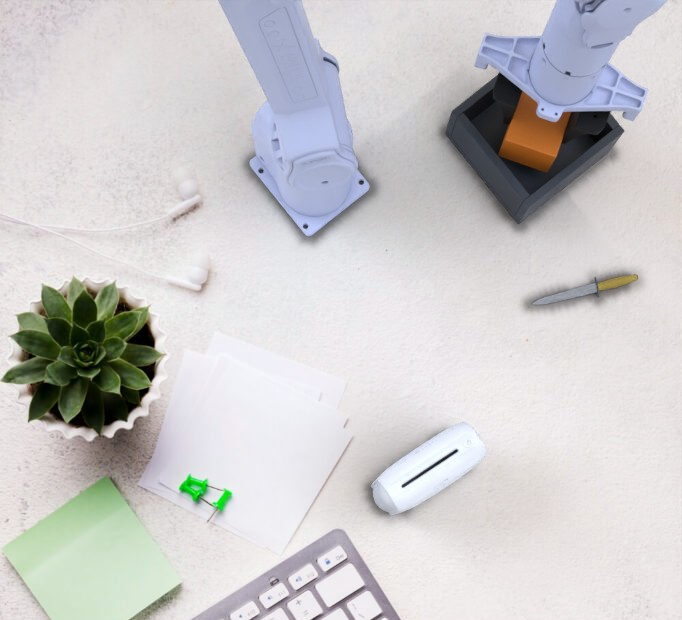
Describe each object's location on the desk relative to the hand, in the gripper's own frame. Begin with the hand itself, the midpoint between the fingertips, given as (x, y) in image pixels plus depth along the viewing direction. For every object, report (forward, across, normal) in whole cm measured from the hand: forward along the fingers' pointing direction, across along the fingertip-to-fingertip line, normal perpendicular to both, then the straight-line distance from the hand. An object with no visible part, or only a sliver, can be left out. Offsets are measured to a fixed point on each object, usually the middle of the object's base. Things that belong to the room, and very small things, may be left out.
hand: (536, 123), depth 81 cm
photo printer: (+4, +1, -35) cm, 35 cm away
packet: (+1, 0, 0) cm, 1 cm away
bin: (+4, 0, 0) cm, 4 cm away
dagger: (+4, +10, -12) cm, 16 cm away
